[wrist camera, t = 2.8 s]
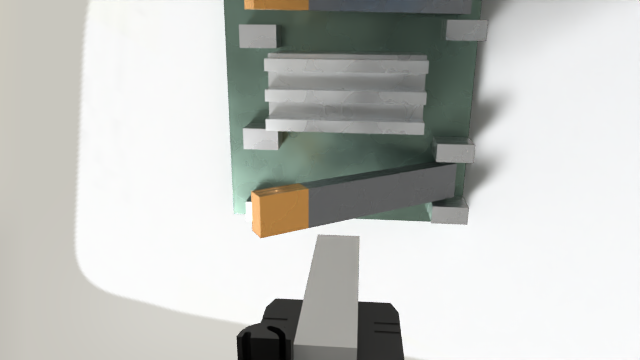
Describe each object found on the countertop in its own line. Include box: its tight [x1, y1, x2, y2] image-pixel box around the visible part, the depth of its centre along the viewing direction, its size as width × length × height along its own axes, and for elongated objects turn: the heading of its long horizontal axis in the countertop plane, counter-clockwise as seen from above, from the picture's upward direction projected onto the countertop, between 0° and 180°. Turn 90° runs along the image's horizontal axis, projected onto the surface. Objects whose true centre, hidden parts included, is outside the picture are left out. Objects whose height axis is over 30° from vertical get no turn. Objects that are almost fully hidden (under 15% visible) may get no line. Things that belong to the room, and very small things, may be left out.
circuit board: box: [224, 0, 488, 225], centre depth 27 cm, size 14×16×5 cm
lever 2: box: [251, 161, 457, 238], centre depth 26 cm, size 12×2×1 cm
